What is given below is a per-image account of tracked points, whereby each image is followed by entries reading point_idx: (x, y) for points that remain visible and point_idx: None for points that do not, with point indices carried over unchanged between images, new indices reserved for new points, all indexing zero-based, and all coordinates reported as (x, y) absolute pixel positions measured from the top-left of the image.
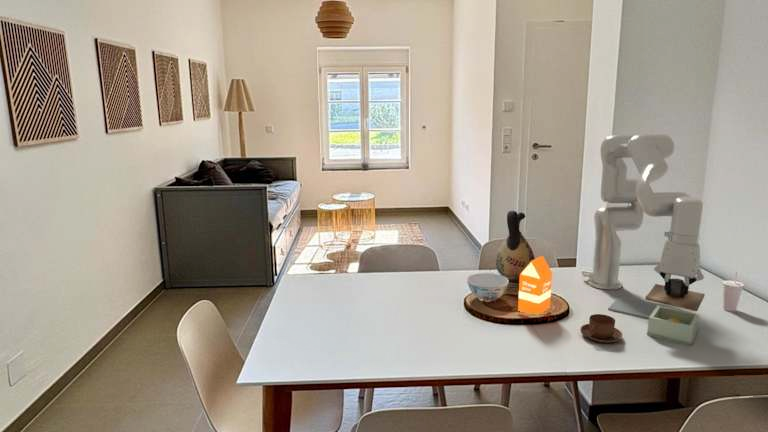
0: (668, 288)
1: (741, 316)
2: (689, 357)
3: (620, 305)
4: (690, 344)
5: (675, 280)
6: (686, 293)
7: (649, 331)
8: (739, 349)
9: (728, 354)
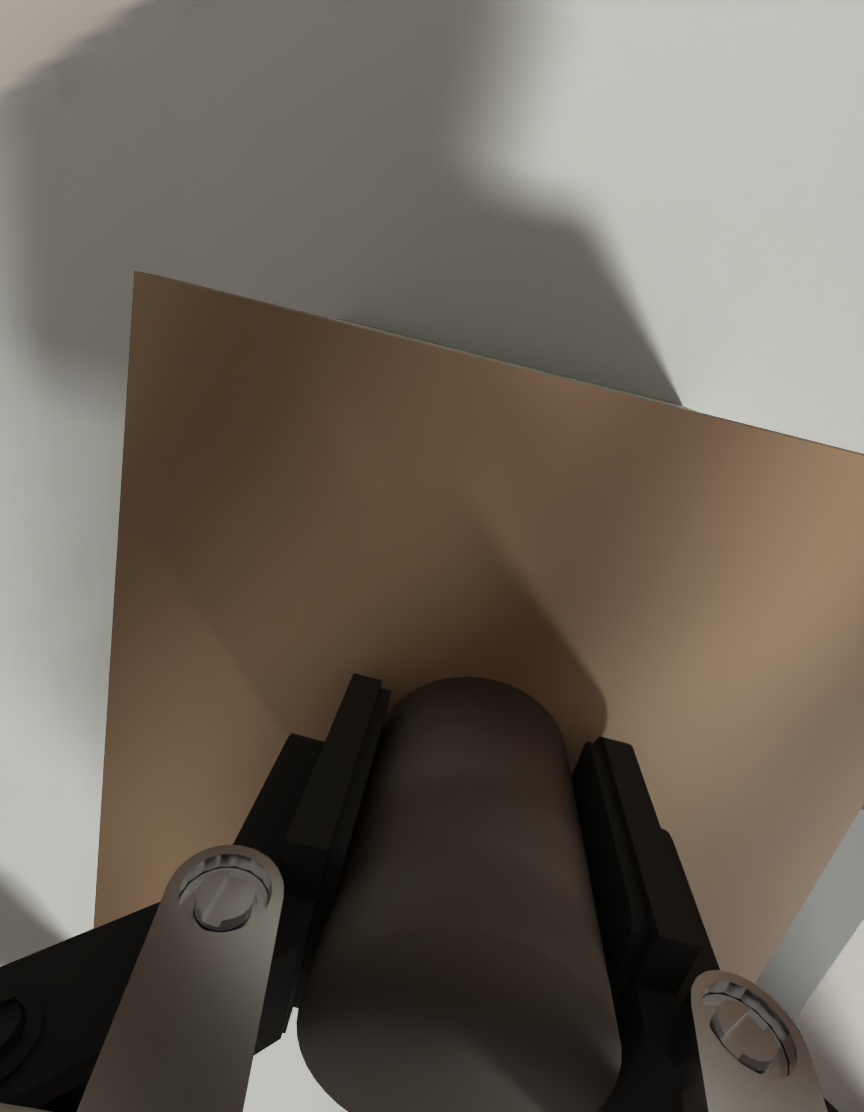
0: (620, 821)
1: (48, 944)
2: (358, 9)
3: (808, 896)
4: (339, 319)
5: (504, 1046)
6: (294, 744)
7: (679, 407)
8: (3, 409)
9: (63, 263)
